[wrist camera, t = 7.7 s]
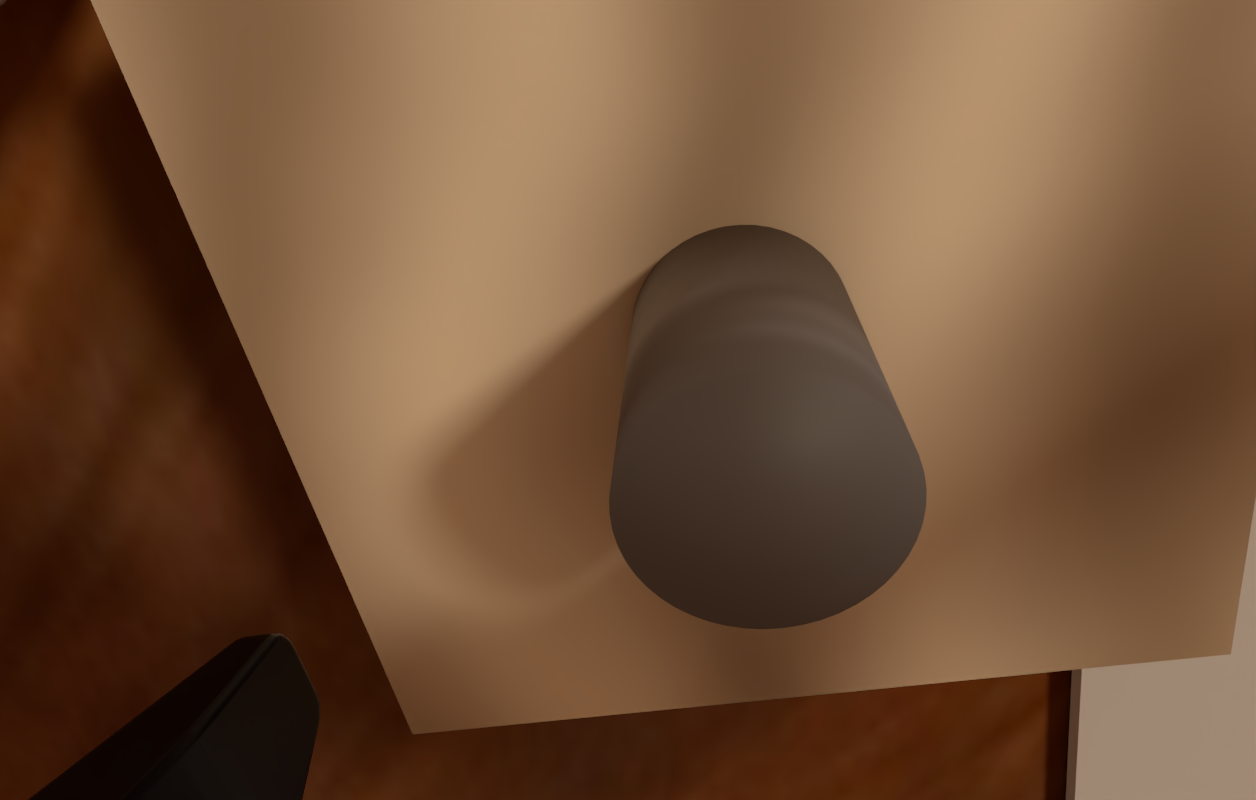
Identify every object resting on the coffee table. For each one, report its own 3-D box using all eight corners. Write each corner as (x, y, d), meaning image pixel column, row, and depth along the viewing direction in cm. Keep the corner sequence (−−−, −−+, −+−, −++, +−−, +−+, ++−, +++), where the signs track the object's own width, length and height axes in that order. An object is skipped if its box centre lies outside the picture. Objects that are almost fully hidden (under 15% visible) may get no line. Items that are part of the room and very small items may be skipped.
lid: (1357, -466, 9) (2047, -858, 5) (1206, 622, 16) (1420, 908, 11) (70, -134, 11) (-357, -172, 7) (422, 703, 18) (333, 972, 14)
